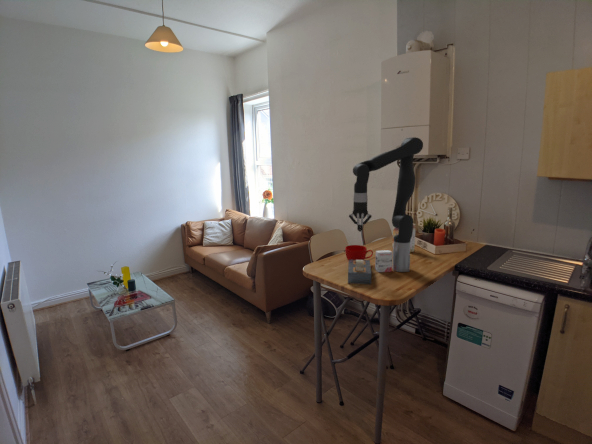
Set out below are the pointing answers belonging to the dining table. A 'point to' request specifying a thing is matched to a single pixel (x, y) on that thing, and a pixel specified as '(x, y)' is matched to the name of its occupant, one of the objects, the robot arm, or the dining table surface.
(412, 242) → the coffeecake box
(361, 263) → the grey rectangular block
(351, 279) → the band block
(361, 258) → the ceramic cup
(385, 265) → the ink box
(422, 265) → the dining table surface
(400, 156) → the robot arm
